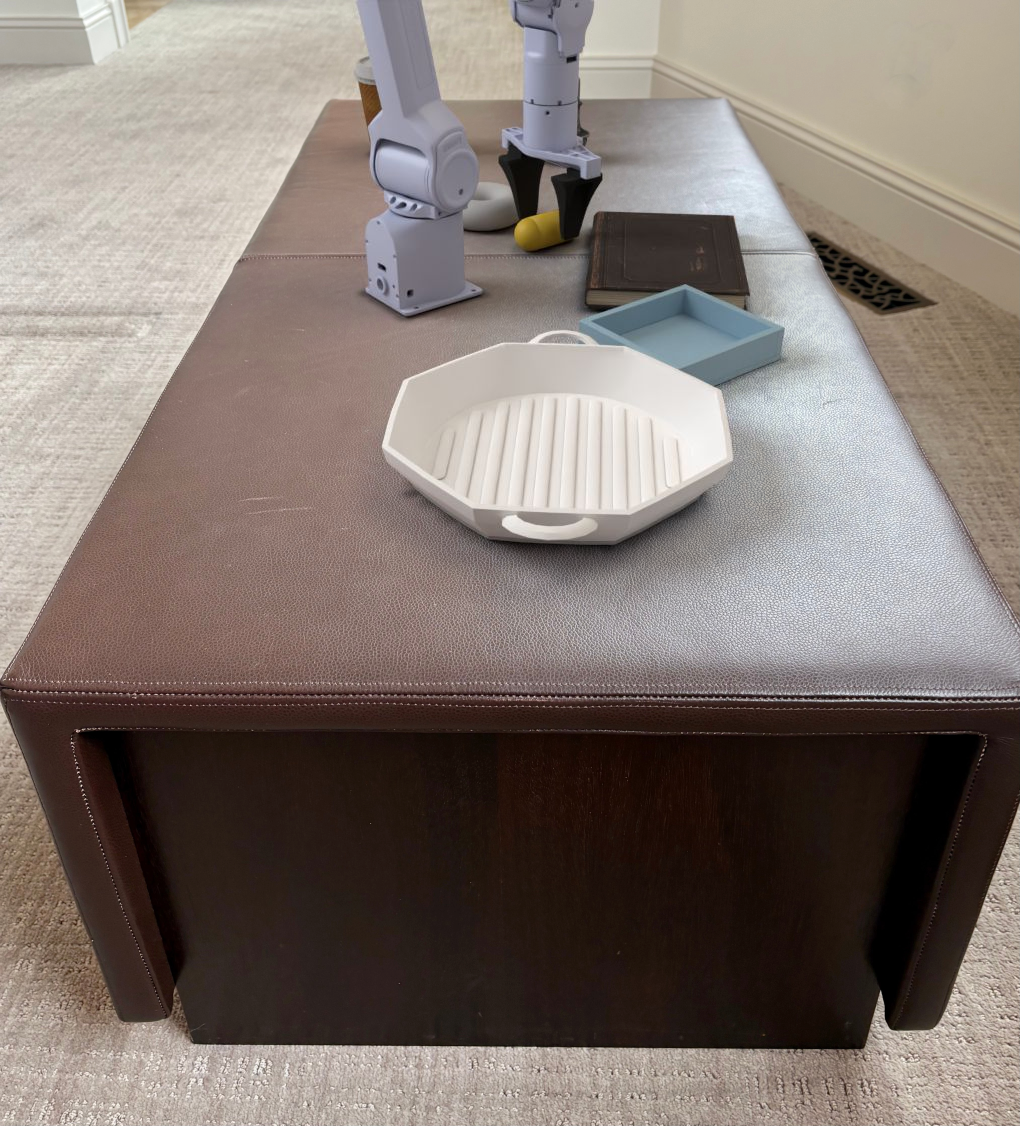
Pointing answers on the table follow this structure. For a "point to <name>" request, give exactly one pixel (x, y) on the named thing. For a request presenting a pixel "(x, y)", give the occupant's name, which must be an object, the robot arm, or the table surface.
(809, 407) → the table surface
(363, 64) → the disposable coffee cup
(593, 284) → the hardcover book
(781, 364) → the table surface
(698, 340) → the tray
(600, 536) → the pan
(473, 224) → the donut
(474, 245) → the table surface
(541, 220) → the yellow rounded capsule
